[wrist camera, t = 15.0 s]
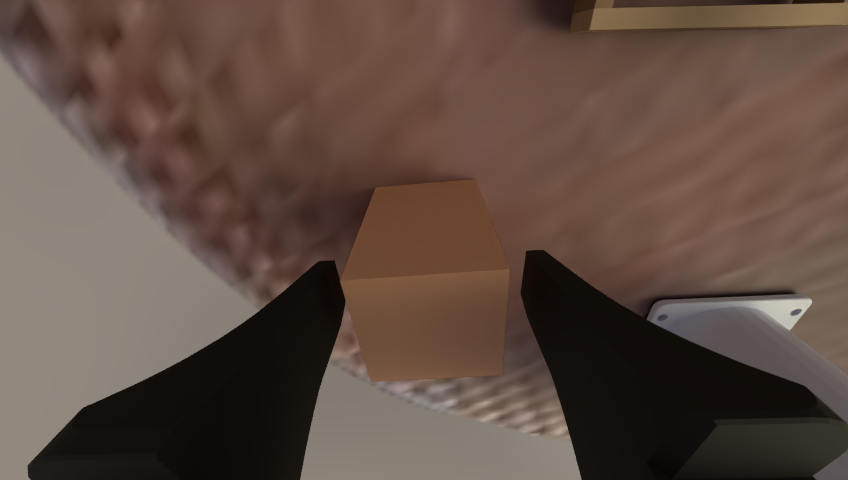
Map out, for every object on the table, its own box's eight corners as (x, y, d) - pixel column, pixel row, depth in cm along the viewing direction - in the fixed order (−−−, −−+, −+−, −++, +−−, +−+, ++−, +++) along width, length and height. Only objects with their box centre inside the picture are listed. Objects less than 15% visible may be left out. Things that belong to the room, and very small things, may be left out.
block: (475, 260, 15) (502, 375, 10) (390, 266, 16) (371, 381, 10) (475, 178, 13) (510, 269, 8) (375, 187, 13) (339, 280, 8)
